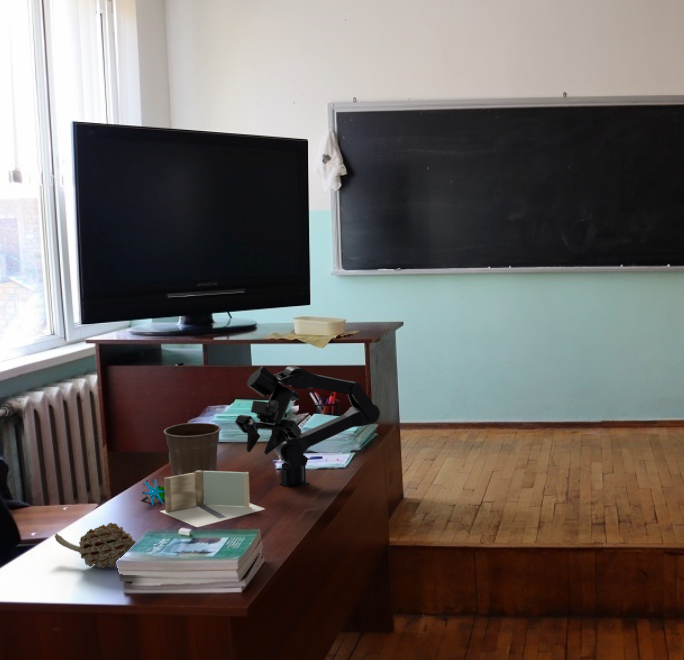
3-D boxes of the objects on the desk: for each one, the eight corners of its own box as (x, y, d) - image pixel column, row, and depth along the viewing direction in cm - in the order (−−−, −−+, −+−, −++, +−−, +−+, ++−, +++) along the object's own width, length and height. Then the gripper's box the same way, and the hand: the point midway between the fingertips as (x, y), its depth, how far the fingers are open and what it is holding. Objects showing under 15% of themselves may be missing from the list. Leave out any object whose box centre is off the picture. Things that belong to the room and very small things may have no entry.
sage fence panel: (203, 504, 257) (202, 471, 255) (205, 503, 258) (204, 470, 257) (248, 506, 254) (247, 473, 253) (249, 505, 255) (248, 472, 254)
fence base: (201, 503, 259) (200, 470, 258) (205, 505, 257) (203, 471, 256) (164, 510, 253) (163, 476, 252) (167, 512, 251) (166, 478, 250)
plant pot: (207, 493, 269) (204, 436, 267) (155, 489, 275) (153, 433, 273) (232, 478, 285) (230, 424, 283) (183, 474, 290) (180, 421, 288)
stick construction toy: (151, 502, 255) (143, 476, 258) (134, 513, 258) (127, 488, 261) (181, 503, 265) (173, 479, 268) (164, 514, 267) (157, 490, 270)
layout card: (226, 496, 267) (226, 494, 267) (265, 510, 253) (265, 508, 253) (159, 512, 253) (159, 511, 253) (197, 528, 239) (197, 527, 239)
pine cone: (147, 562, 217) (145, 519, 216) (124, 578, 208) (122, 533, 207) (63, 553, 224) (61, 511, 223) (37, 567, 215) (35, 524, 214)
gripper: (237, 386, 270) (215, 433, 262) (294, 391, 261) (273, 440, 253) (254, 408, 278) (233, 455, 270) (310, 414, 269) (290, 462, 260)
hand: (256, 452), depth 263 cm, fingers open, 5 cm apart
